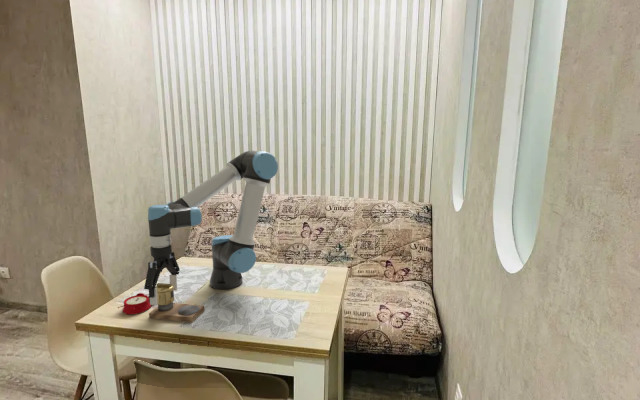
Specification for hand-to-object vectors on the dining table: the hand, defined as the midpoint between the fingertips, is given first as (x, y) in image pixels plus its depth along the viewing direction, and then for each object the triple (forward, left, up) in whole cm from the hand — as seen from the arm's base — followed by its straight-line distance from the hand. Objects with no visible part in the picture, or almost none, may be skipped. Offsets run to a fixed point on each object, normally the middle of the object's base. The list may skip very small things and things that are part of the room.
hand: (164, 297), depth 146 cm
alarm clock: (-13, -6, -7) cm, 16 cm away
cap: (0, 0, -2) cm, 2 cm away
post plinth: (+4, +3, -7) cm, 9 cm away
